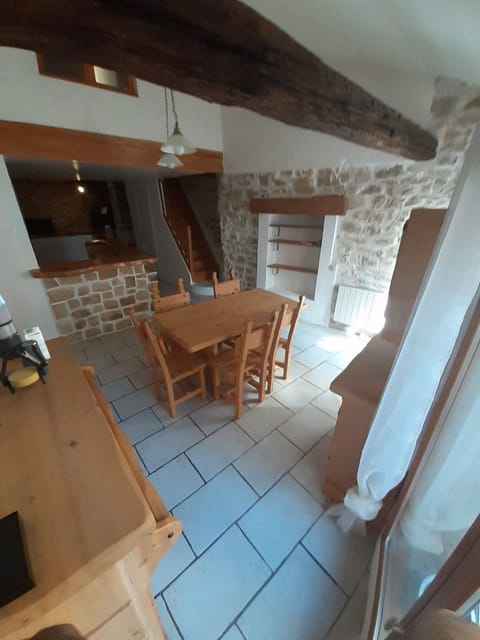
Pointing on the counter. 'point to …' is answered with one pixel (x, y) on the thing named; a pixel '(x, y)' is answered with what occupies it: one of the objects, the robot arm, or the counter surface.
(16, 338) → the robot arm
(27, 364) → the green upright cylinder
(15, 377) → the lid
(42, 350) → the syrup box
